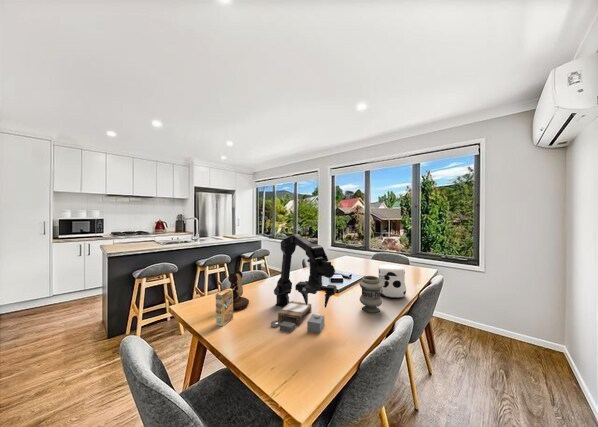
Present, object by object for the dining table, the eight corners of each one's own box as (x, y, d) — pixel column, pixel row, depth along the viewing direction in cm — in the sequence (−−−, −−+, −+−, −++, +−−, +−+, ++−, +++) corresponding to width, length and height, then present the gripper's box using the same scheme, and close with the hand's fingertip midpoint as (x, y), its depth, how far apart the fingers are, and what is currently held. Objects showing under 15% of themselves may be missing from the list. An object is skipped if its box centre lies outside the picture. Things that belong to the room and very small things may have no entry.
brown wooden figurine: (242, 312, 127) (242, 275, 127) (217, 310, 129) (217, 274, 129) (252, 302, 141) (252, 269, 141) (230, 300, 144) (229, 268, 144)
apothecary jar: (355, 310, 128) (355, 277, 128) (365, 304, 137) (365, 273, 136) (376, 317, 120) (376, 282, 119) (386, 309, 128) (386, 277, 128)
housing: (307, 331, 107) (307, 319, 107) (312, 323, 114) (312, 312, 114) (320, 333, 105) (320, 321, 105) (324, 325, 112) (324, 313, 112)
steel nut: (269, 327, 111) (269, 323, 111) (273, 323, 115) (273, 320, 115) (277, 328, 109) (277, 325, 109) (280, 324, 113) (280, 321, 113)
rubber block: (279, 330, 108) (279, 324, 108) (283, 326, 112) (283, 321, 112) (291, 333, 105) (291, 327, 105) (295, 328, 109) (295, 323, 109)
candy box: (223, 326, 111) (222, 294, 111) (215, 325, 112) (215, 293, 112) (233, 318, 120) (233, 288, 119) (226, 317, 121) (226, 288, 121)
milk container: (408, 293, 153) (407, 266, 153) (403, 302, 138) (403, 272, 138) (380, 289, 162) (380, 263, 162) (374, 297, 148) (374, 268, 147)
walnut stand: (278, 320, 117) (278, 311, 117) (291, 308, 132) (291, 300, 132) (300, 324, 113) (300, 315, 113) (311, 311, 127) (311, 303, 127)
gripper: (290, 275, 105) (290, 309, 106) (330, 279, 98) (331, 316, 99) (299, 269, 116) (299, 301, 116) (336, 273, 109) (337, 306, 109)
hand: (316, 306), depth 110 cm, fingers open, 9 cm apart
